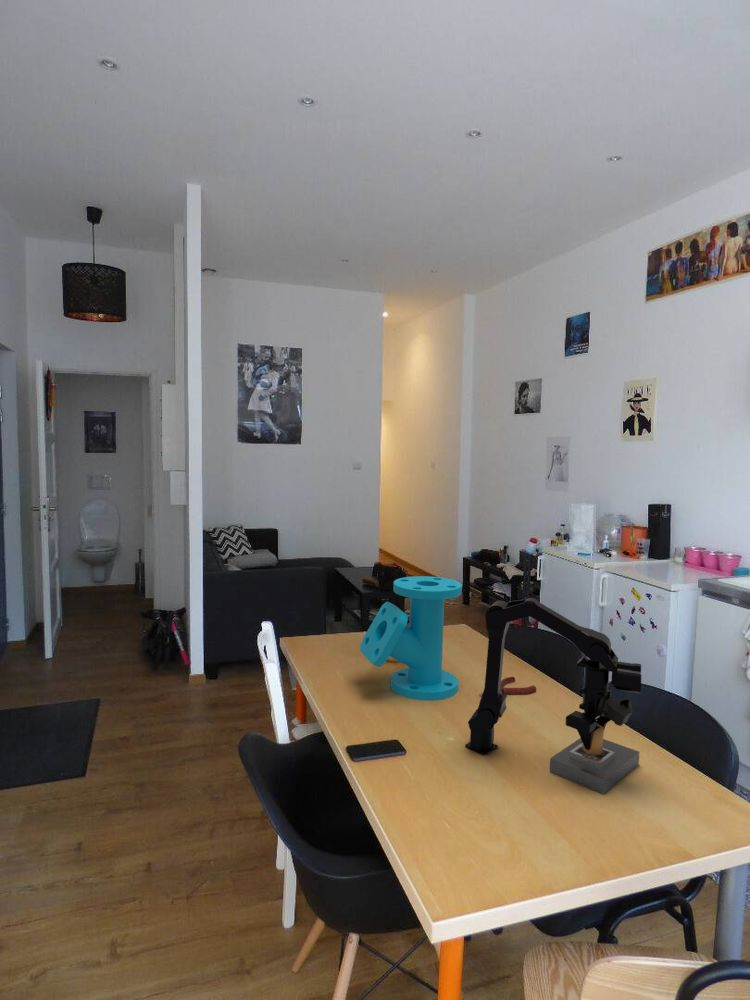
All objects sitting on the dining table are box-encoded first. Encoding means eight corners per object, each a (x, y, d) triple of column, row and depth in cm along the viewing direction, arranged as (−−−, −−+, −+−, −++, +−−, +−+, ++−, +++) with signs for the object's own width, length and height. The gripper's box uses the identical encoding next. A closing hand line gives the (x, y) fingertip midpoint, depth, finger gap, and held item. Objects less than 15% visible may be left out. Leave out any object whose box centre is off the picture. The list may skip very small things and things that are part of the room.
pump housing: (597, 756, 153) (598, 729, 153) (571, 747, 158) (572, 720, 158) (605, 750, 157) (607, 724, 156) (580, 740, 162) (581, 715, 161)
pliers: (469, 693, 206) (469, 686, 205) (511, 682, 217) (512, 674, 217) (494, 706, 196) (494, 698, 196) (537, 693, 208) (538, 685, 208)
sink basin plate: (604, 794, 147) (605, 774, 146) (549, 771, 156) (550, 752, 156) (638, 764, 161) (639, 746, 160) (586, 745, 171) (587, 727, 170)
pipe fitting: (469, 696, 202) (473, 589, 199) (374, 706, 193) (377, 594, 190) (442, 672, 224) (445, 575, 220) (355, 680, 214) (357, 578, 211)
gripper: (611, 706, 143) (607, 771, 144) (643, 685, 156) (639, 745, 158) (566, 691, 151) (562, 754, 152) (600, 672, 164) (597, 730, 166)
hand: (592, 746), depth 157 cm, fingers closed on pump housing, 5 cm apart
